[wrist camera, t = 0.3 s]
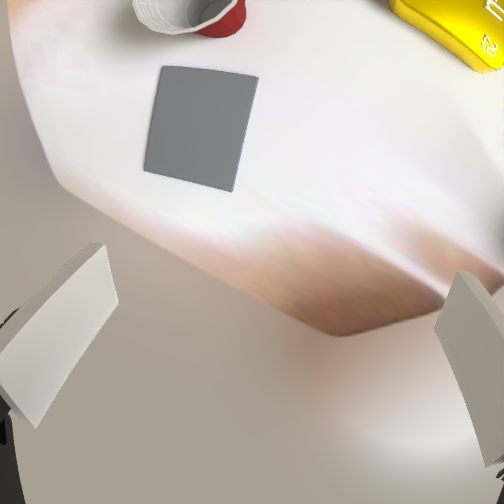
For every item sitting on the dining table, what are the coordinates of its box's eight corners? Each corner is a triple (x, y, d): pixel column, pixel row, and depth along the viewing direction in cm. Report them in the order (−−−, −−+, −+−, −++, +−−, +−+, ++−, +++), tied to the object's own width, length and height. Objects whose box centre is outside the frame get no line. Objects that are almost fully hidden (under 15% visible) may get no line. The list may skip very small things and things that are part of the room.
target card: (165, 66, 32) (163, 65, 31) (258, 77, 31) (257, 77, 30) (146, 170, 38) (144, 171, 37) (232, 191, 36) (231, 192, 36)
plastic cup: (187, 68, 31) (134, 50, 21) (176, -1, 28) (126, -35, 17) (276, 47, 29) (256, 11, 18) (259, -24, 25) (234, -74, 14)
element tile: (418, -55, 18) (427, -71, 13) (508, 9, 18) (525, 1, 13) (383, 9, 24) (391, -5, 20) (483, 80, 24) (502, 76, 20)
